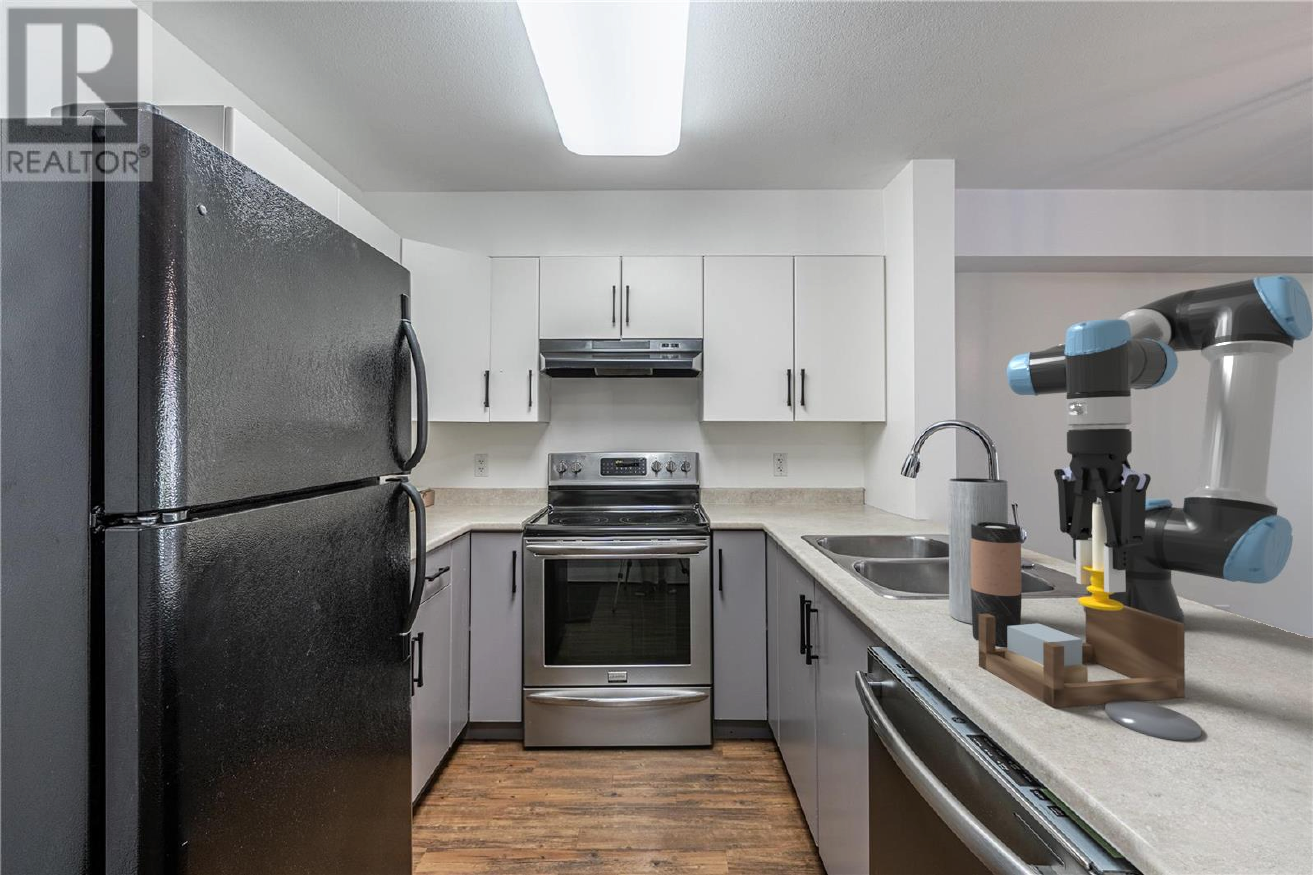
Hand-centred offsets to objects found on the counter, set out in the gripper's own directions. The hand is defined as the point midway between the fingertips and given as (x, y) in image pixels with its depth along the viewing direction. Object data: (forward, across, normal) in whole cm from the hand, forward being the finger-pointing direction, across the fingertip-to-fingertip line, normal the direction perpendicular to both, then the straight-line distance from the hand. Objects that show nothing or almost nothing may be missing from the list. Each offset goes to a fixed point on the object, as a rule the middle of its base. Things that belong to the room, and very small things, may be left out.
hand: (1100, 586), depth 84 cm
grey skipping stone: (+13, +12, -6) cm, 19 cm away
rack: (+13, 0, -5) cm, 14 cm away
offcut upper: (+10, 0, -10) cm, 13 cm away
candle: (+3, 0, 0) cm, 3 cm away
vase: (+14, -28, +1) cm, 31 cm away
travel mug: (+14, -17, -4) cm, 22 cm away
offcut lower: (+14, 0, -9) cm, 16 cm away
